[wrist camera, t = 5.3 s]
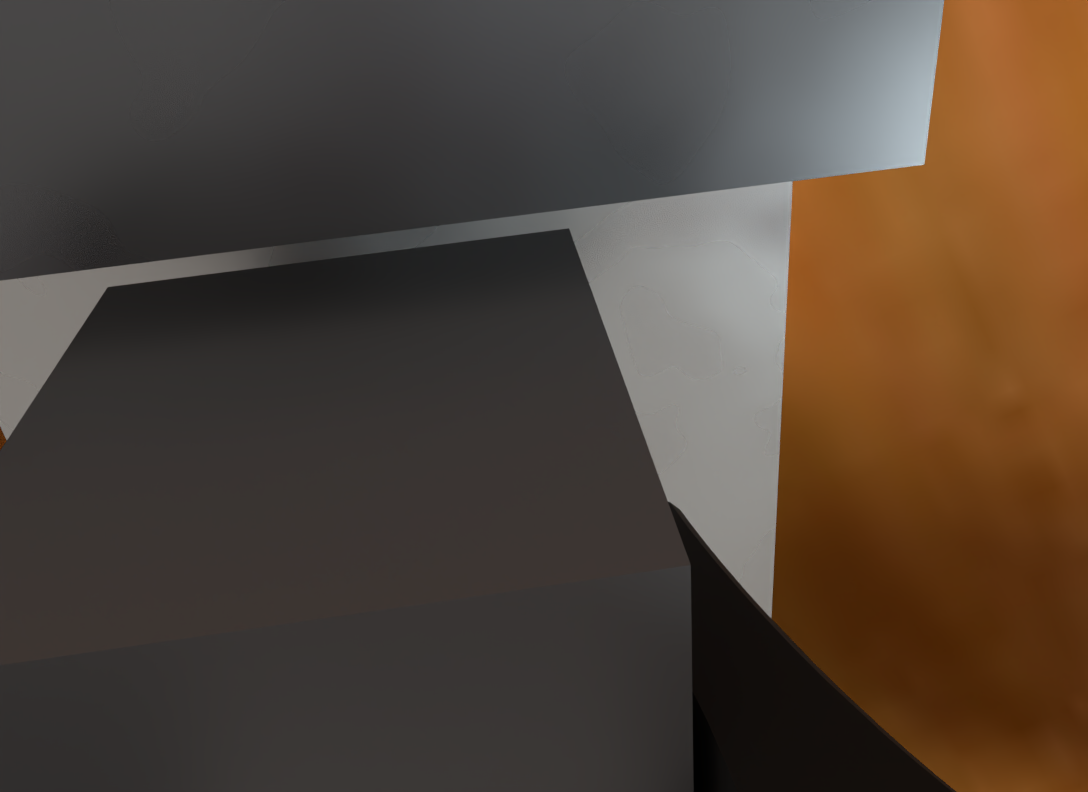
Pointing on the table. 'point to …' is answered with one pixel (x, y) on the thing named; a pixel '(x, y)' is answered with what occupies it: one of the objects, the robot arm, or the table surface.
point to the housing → (344, 540)
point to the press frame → (466, 174)
